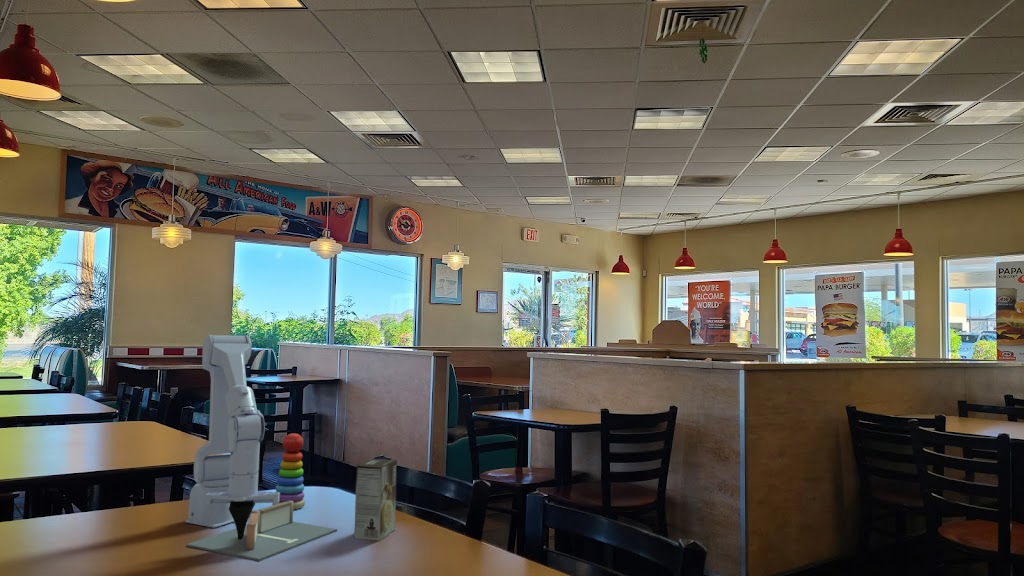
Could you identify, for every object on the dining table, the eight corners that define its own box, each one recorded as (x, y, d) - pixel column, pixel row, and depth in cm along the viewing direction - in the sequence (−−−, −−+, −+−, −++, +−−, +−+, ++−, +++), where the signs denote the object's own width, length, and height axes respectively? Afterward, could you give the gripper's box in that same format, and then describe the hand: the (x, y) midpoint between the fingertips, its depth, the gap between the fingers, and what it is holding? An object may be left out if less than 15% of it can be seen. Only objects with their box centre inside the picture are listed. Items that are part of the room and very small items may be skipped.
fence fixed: (248, 536, 155) (249, 511, 155) (288, 523, 166) (289, 499, 167) (254, 537, 154) (255, 512, 155) (294, 524, 166) (295, 500, 166)
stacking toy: (286, 513, 175) (289, 436, 177) (265, 507, 180) (269, 433, 181) (311, 506, 182) (314, 433, 183) (290, 502, 186) (293, 430, 188)
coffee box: (369, 527, 164) (372, 457, 165) (395, 530, 163) (398, 459, 164) (353, 539, 155) (355, 465, 156) (380, 541, 154) (383, 466, 155)
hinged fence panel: (250, 535, 154) (251, 513, 154) (258, 534, 154) (259, 513, 155) (245, 549, 144) (246, 526, 144) (254, 549, 145) (255, 525, 145)
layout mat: (186, 546, 147) (186, 543, 148) (269, 519, 169) (269, 517, 169) (259, 561, 139) (259, 558, 139) (337, 530, 161) (337, 528, 161)
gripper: (202, 476, 143) (199, 544, 143) (276, 476, 146) (273, 543, 145) (211, 469, 150) (208, 534, 150) (282, 469, 153) (279, 533, 152)
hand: (240, 538), depth 148 cm, fingers closed
